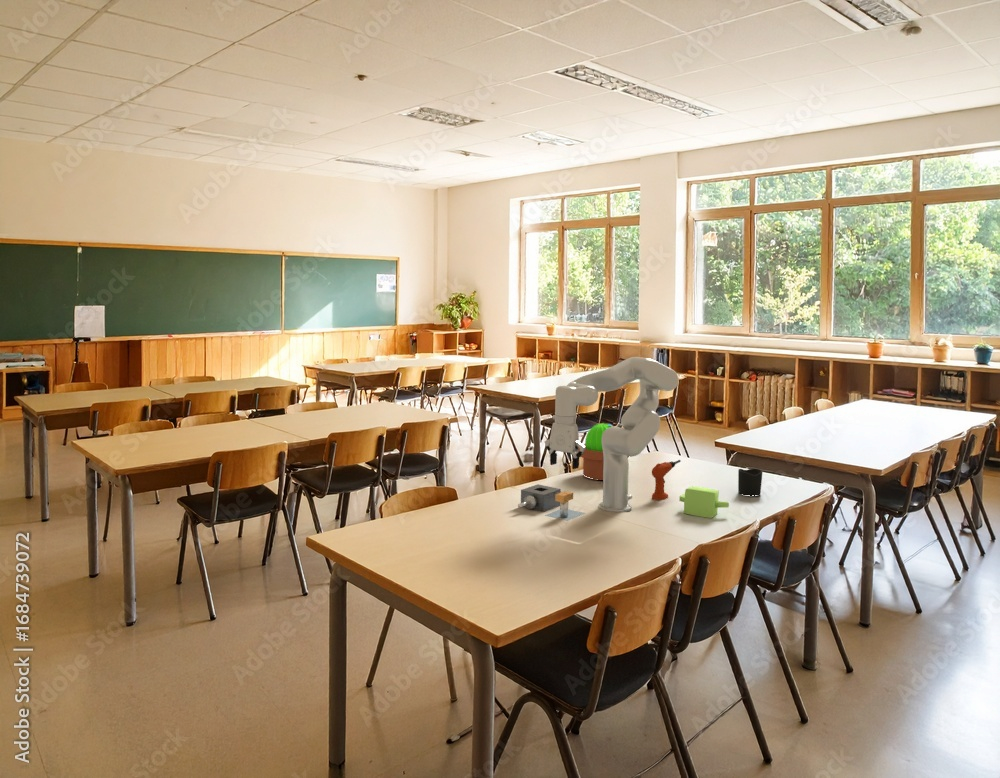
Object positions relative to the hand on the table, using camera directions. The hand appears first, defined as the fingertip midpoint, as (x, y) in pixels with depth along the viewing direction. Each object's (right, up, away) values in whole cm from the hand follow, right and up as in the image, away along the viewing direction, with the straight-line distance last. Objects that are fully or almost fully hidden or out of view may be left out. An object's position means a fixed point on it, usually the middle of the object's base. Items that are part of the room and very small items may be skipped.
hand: (564, 466), depth 269 cm
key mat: (+1, -19, +6) cm, 20 cm away
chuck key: (0, -19, +2) cm, 19 cm away
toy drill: (+45, -16, +33) cm, 58 cm away
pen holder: (+80, -16, +37) cm, 89 cm away
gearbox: (+53, -19, +9) cm, 57 cm away
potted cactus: (+23, -12, +65) cm, 70 cm away
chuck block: (-10, -18, +14) cm, 25 cm away
